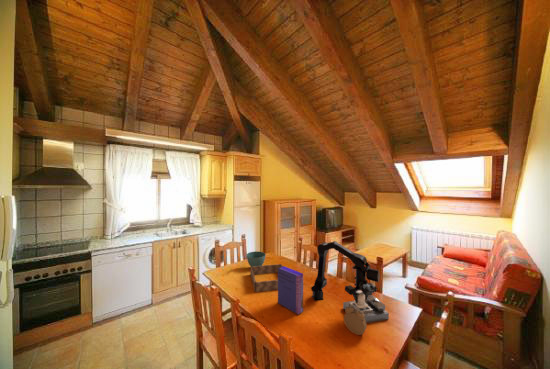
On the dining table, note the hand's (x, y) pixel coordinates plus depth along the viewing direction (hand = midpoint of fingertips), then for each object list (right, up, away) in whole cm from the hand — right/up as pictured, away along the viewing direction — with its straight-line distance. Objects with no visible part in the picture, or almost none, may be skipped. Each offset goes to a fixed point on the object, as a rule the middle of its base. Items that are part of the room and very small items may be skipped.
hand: (360, 302), depth 126 cm
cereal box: (-43, -8, +8) cm, 44 cm away
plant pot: (-71, -7, +71) cm, 100 cm away
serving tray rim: (-57, -7, +43) cm, 72 cm away
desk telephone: (+3, -8, +1) cm, 8 cm away
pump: (0, -2, 0) cm, 2 cm away
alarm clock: (-10, -8, -16) cm, 20 cm away
